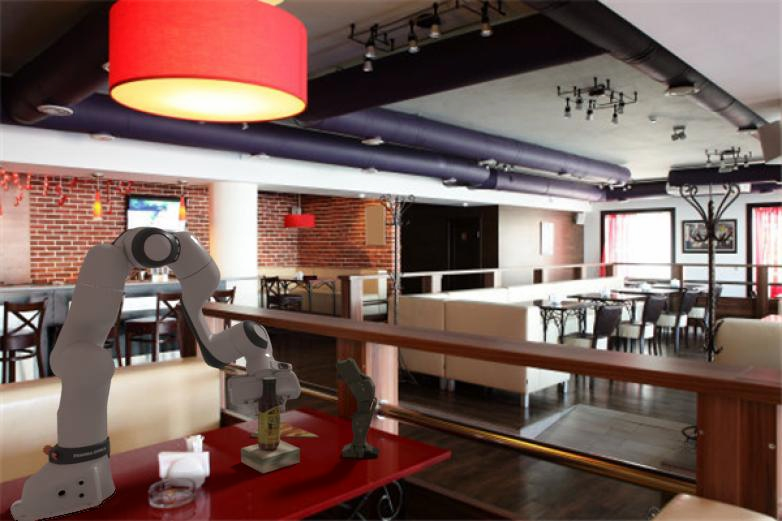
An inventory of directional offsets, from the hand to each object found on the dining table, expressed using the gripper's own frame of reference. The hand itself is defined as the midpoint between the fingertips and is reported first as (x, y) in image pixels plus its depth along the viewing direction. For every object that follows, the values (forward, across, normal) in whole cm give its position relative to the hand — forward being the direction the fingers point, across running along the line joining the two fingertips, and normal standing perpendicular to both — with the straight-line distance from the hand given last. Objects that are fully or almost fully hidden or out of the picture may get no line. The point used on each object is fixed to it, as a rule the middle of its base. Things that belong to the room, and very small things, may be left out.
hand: (270, 413), depth 167 cm
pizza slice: (-6, +8, +27) cm, 29 cm away
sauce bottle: (+7, 0, +8) cm, 10 cm away
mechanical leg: (+14, +25, +7) cm, 29 cm away
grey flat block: (+10, 0, +10) cm, 14 cm away
